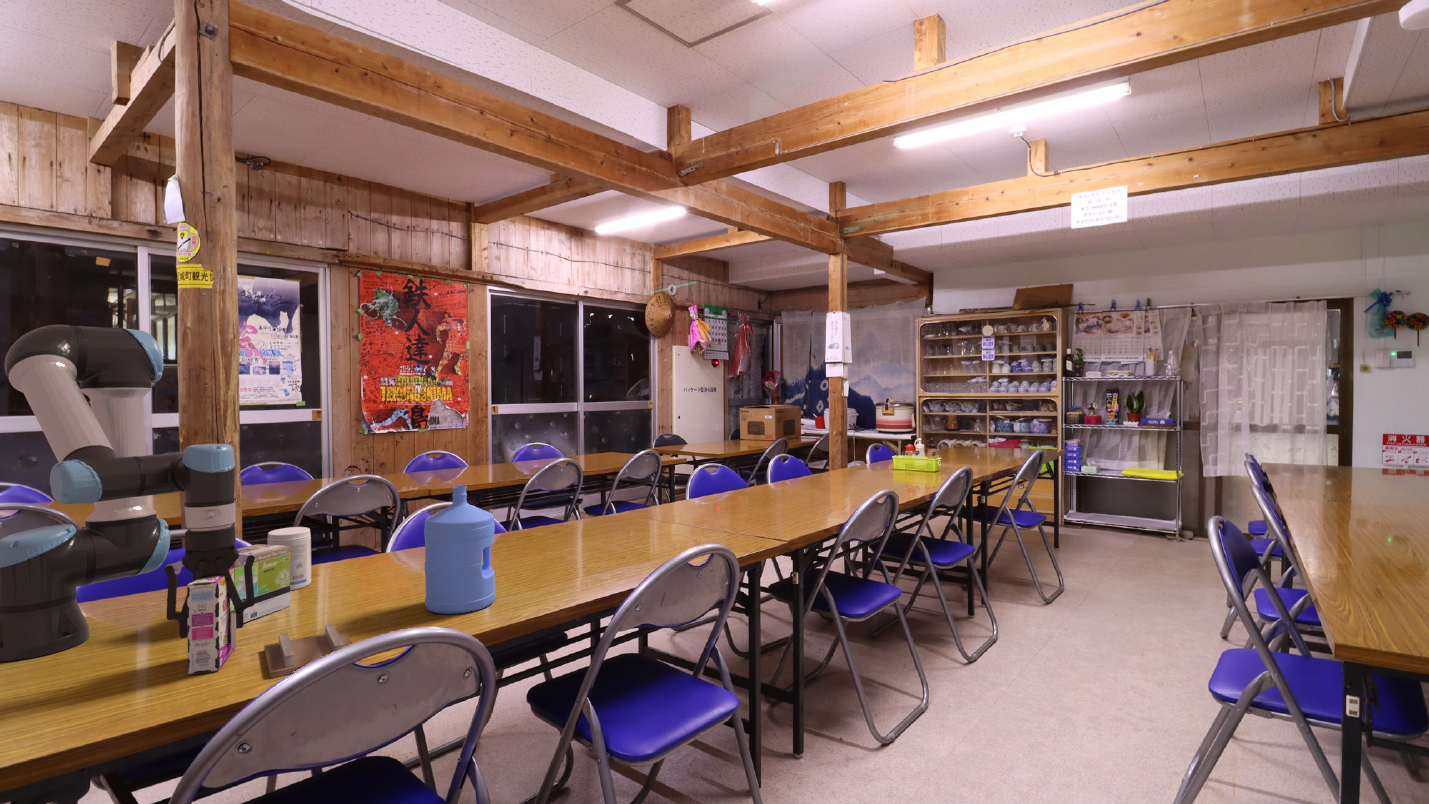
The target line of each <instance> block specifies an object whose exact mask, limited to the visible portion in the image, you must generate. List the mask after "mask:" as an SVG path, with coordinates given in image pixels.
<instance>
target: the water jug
mask: <svg viewBox="0 0 1429 804" xmlns="http://www.w3.org/2000/svg"><path fill="white" fill-rule="evenodd" d="M467 488H468V487H467V486H466V485H459V486H458V485H456V486H452V488H451V489H452V491H453V492H452V503H451V505H449V506H447V507H445V508H443V509H441V510H439V511H437V512H435V513H433V514H432V515H430V516H427V517H426V519H425V520H424V527H423V531H424V532H423V534H424V536H423V537H424V550H425V551H424V574H425V598H424V606H425V608H426V610H428V611H429V612H431V613H434V614H440V615H459V613H460V614H464V613H465V614H466V612H467V613H471V611H472V612H476V611H480V610H482V609H485V608H486V607H488V606H490V605H491V604H493V603H494V601H495V600H496V588H495V587H496V585H495V584H496V582H495V580H496V579H495V575H496V574H495V570H494V569H493V568H492V566H491V565H492V563H491V562H492V561H491V559H492V558H491V556H492V555H491V554H492V553H491V551H492V550H491V546H492V545H494V544H495V531H496V527H495V526H496V525H495V524H496V523H495V515H494V514H493V513H491V512H490V511H486V510H484V509H481V508H480V507H476V506H475V505H471V504H469V503H468V500H467V496H468V494H467Z"/></svg>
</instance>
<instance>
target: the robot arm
mask: <svg viewBox="0 0 1429 804" xmlns="http://www.w3.org/2000/svg"><path fill="white" fill-rule="evenodd" d="M3 365H4V372H5V376H6V378H7V379H8V382H9V383H10V385H11V386H12V387H13V389H15V390H17V391H19V392H21V393H23V395H24V396H25V399H26V401H27V402H28V405H29V406H30V408H31V410H32V412H33V416H34V417H35V418H36V420H37V422H38V425H39V427H40V429H41V430H42V432H43V434H44V436H45V438H46V440H47V442H48V444H49V445H50V448H51V450H52V452H53V453H54V456H55V458H56V460H57V461H58V462H57V463H55V464H54V465H53V466H52V467H51V471H50V474H49V486H50V489H51V495H52V497H53V499H54V500H55V501H56V502H57V503H59V504H62V505H73V504H74V505H75V504H93V512H91V513H90V514H89V515H88V516H87V517H86V518H85V519H84V525H85V526H84V528H82V529H77V528H76V527H75V526H74V525H73V524H70V523H64V524H61V523H60V524H55V525H47V526H46V525H45V526H41V527H36V528H31V529H27V530H23V531H22V530H21V531H19V532H15V533H12V534H9V535H7V536H4V537H2V538H1V539H0V662H12V661H20V660H27V659H31V658H38V657H42V656H46V655H51V654H54V653H58V652H61V651H64V650H67V649H71V648H73V647H76V646H78V645H81V644H82V643H85V641H87V640H89V638H90V625H89V624H88V622H87V620H86V618H85V616H84V613H83V612H82V610H81V607H80V606H79V603H78V601H77V599H78V598H77V588H78V587H79V588H80V587H83V586H87V585H89V586H90V585H94V584H98V583H103V582H108V581H112V580H119V579H122V578H127V577H129V578H133V577H137V576H139V575H143V574H147V573H152V572H154V571H156V570H157V569H159V568H160V567H161V566H162V565H163V563H164V561H166V558H167V556H168V554H169V550H170V544H171V531H170V530H169V525H168V523H167V521H166V520H165V519H164V518H159V517H158V516H157V511H156V510H155V509H153V508H152V507H151V506H149V505H148V496H156V495H168V494H173V493H184V527H185V528H187V530H186V531H185V532H184V547H185V548H184V550H185V551H184V555H183V557H182V559H181V560H179V561H176V562H173V563H172V562H171V563H167V564H165V567H164V573H165V575H166V578H167V597H166V620H168V621H177V622H178V623H179V638H180V639H188V625H187V595H186V596H185V599H184V601H183V605H182V606H181V607H182V608H181V610H180V611H178V610H177V594H178V593H177V592H178V589H177V588H178V575H180V574H181V573H182V568H183V567H185V568H186V569H187V570H188V571H189V572H190V573H191V574H192V579H191V581H190V582H192V581H193V580H199V579H202V578H206V577H211V576H221V577H222V576H224V577H225V580H226V587H227V591H228V593H229V596H230V598H231V600H232V603H233V605H234V608H235V610H231V647H232V648H235V649H236V648H237V629H241V628H243V627H244V626H245V625H244V621H243V612H244V610H245V609H246V608H248V607H252V606H254V604H255V600H254V588H253V575H252V566H253V563H254V560H255V556H254V554H253V553H249V554H242V553H239V552H238V550H237V549H238V548H237V545H236V544H237V540H236V535H237V534H236V527H235V525H234V523H236V501H235V500H236V499H235V497H236V495H235V491H236V490H235V489H236V488H235V486H236V485H235V481H236V480H235V476H236V474H235V473H236V471H235V468H236V461H235V454H234V448H233V446H232V445H230V444H229V443H206V444H205V443H204V444H203V443H202V444H193V445H191V444H190V445H188V446H187V447H185V448H184V449H183V451H181V450H179V451H170V452H165V453H163V454H150V455H146V438H145V437H146V436H145V434H146V432H145V410H144V397H145V396H146V395H148V393H150V392H151V391H152V388H153V387H152V384H154V383H157V382H158V381H160V380H161V379H162V376H163V371H164V358H163V353H162V350H161V347H160V345H159V343H158V341H157V340H156V339H155V337H153V335H151V334H150V333H149V332H147V331H144V330H139V329H131V328H127V327H126V328H125V327H102V326H101V327H99V326H86V325H85V326H83V325H69V324H50V325H46V326H41V327H38V328H35V329H32V330H30V331H29V332H26V333H25V334H23V335H22V336H20V337H19V338H18V339H17V340H16V341H14V343H13V344H12V345H11V346H10V348H9V349H8V351H7V353H6V355H5V358H4V364H3ZM78 382H79V385H78ZM85 396H87V397H88V399H89V401H90V404H89V402H88V401H87V399H86V397H85ZM237 559H239V560H240V563H241V565H243V566H244V576H245V588H246V600H245V601H243V602H242V601H241V599H240V597H239V594H238V592H237V589H236V587H235V584H234V582H233V580H232V577H231V574H230V572H229V569H230V568H231V566H232V565H233V564H234V563H235V561H236V560H237Z"/></svg>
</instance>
